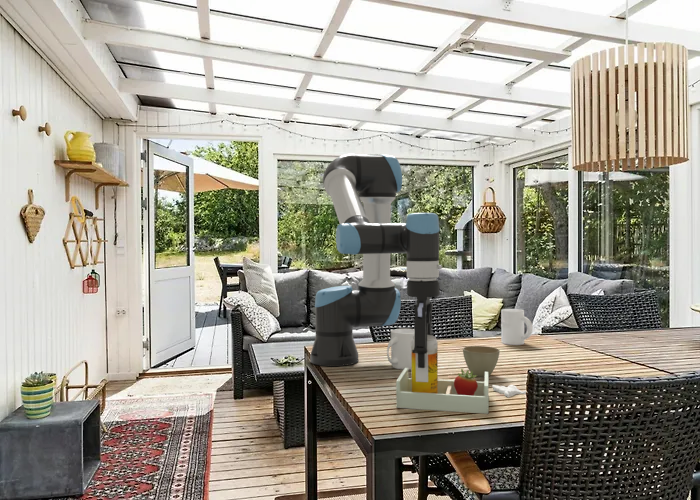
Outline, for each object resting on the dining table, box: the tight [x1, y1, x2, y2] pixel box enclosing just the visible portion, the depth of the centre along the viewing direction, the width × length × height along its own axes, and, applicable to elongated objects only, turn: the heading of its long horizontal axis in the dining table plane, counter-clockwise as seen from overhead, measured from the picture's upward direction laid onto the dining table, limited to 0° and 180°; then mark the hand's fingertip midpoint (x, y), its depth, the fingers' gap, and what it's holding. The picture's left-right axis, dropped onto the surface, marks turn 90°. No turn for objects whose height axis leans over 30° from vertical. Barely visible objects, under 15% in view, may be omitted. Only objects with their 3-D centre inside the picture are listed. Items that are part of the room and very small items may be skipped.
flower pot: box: [462, 345, 501, 378], centre depth 149 cm, size 10×10×7 cm
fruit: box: [454, 368, 478, 396], centre depth 122 cm, size 5×5×8 cm
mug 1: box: [386, 328, 415, 371], centre depth 158 cm, size 9×12×11 cm
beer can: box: [410, 334, 439, 394], centre depth 124 cm, size 6×6×15 cm
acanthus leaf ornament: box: [492, 384, 527, 398], centre depth 131 cm, size 8×7×2 cm
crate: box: [395, 368, 490, 415], centre depth 123 cm, size 20×13×6 cm, turn 75°
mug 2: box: [500, 308, 534, 346], centre depth 193 cm, size 8×12×12 cm
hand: (424, 376), depth 125 cm, fingers open, 7 cm apart
